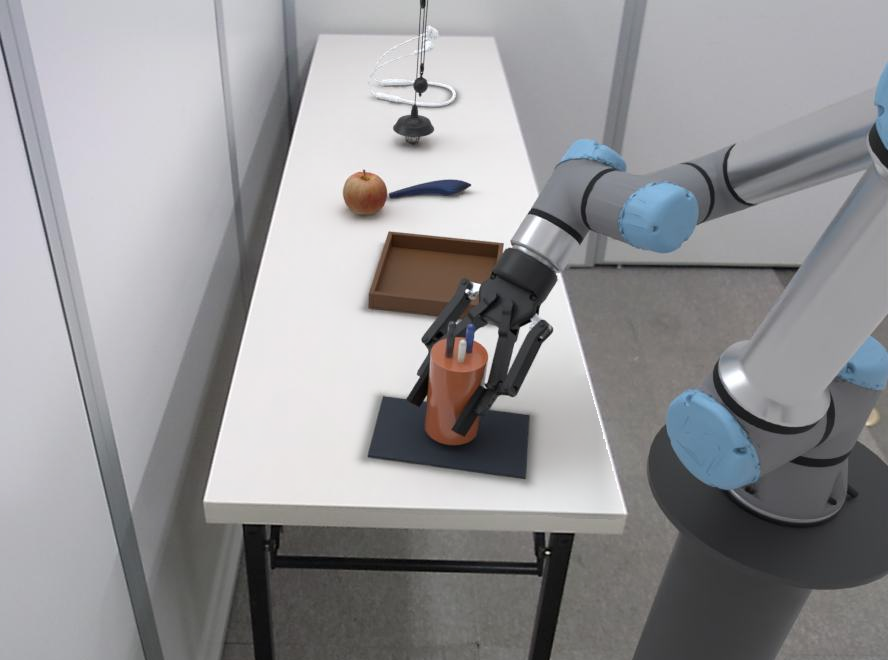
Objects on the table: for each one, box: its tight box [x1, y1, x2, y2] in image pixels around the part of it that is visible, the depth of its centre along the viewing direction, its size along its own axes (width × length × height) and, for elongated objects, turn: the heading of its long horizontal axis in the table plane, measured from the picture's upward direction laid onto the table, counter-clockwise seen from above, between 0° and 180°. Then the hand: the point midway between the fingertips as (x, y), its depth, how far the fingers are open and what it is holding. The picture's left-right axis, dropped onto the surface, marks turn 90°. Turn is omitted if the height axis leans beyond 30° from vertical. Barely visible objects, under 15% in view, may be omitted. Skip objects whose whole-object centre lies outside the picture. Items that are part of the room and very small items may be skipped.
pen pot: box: [424, 321, 489, 445], centre depth 112 cm, size 7×7×17 cm
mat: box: [367, 395, 530, 480], centre depth 118 cm, size 20×12×1 cm, turn 79°
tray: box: [367, 231, 505, 320], centre depth 146 cm, size 20×20×3 cm
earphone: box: [367, 25, 457, 107], centre depth 205 cm, size 14×17×18 cm
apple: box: [342, 169, 388, 216], centre depth 162 cm, size 8×8×8 cm
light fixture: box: [392, 0, 435, 146], centre depth 176 cm, size 10×8×31 cm
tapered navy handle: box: [388, 178, 472, 199], centre depth 169 cm, size 16×4×2 cm, turn 99°
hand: (435, 417), depth 113 cm, fingers closed on pen pot, 7 cm apart
